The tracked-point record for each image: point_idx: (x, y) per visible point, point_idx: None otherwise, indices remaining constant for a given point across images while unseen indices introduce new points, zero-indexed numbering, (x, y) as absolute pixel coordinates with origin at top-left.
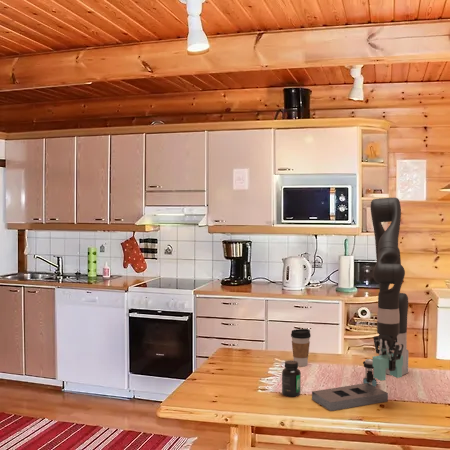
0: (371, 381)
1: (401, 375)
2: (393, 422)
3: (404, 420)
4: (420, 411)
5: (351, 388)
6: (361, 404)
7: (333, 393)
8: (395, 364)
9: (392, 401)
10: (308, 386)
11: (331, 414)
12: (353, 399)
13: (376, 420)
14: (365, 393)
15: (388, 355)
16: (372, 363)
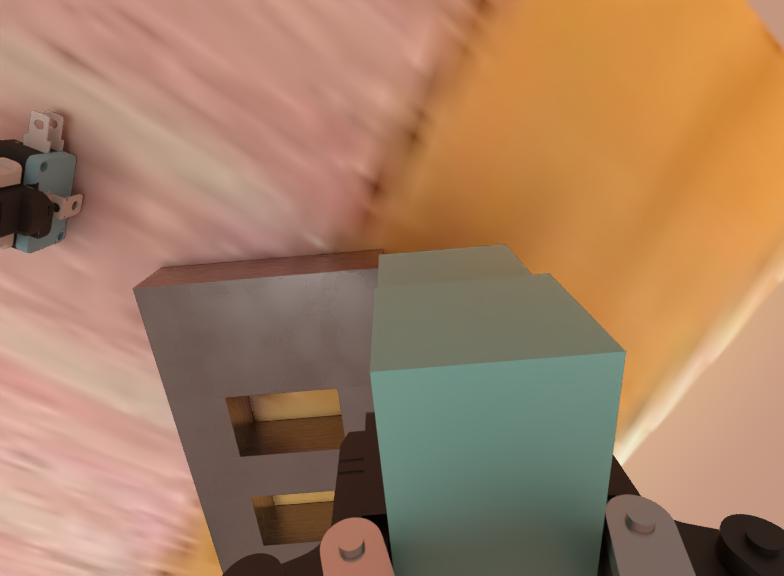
0: (51, 202)
1: (510, 255)
2: (658, 390)
3: (670, 327)
4: (617, 150)
5: (233, 437)
6: None
7: (294, 550)
8: (615, 462)
9: (394, 220)
10: (44, 525)
11: None
12: None
13: None
14: (345, 405)
15: (461, 552)
16: None
